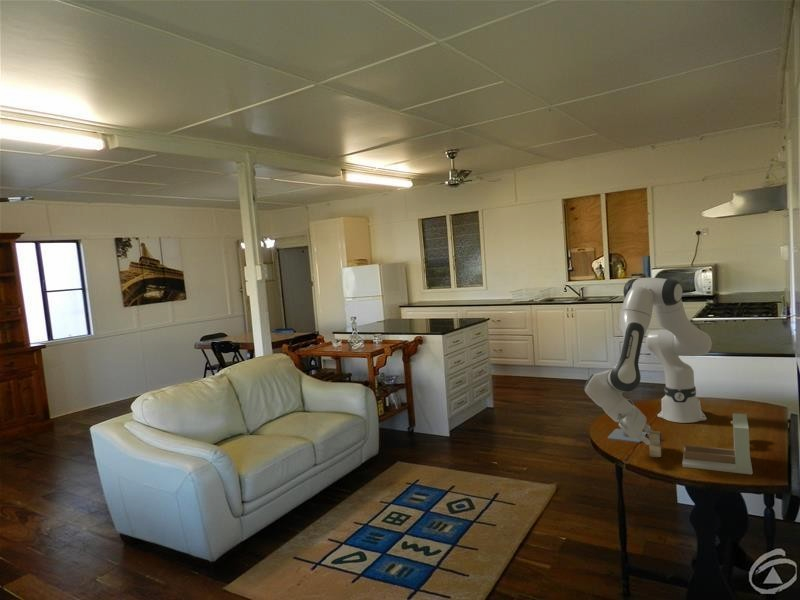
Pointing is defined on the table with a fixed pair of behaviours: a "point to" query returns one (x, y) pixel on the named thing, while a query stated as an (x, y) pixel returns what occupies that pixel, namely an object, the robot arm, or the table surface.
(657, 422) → the table surface
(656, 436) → the beige wooden block
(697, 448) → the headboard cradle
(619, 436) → the shower valve
